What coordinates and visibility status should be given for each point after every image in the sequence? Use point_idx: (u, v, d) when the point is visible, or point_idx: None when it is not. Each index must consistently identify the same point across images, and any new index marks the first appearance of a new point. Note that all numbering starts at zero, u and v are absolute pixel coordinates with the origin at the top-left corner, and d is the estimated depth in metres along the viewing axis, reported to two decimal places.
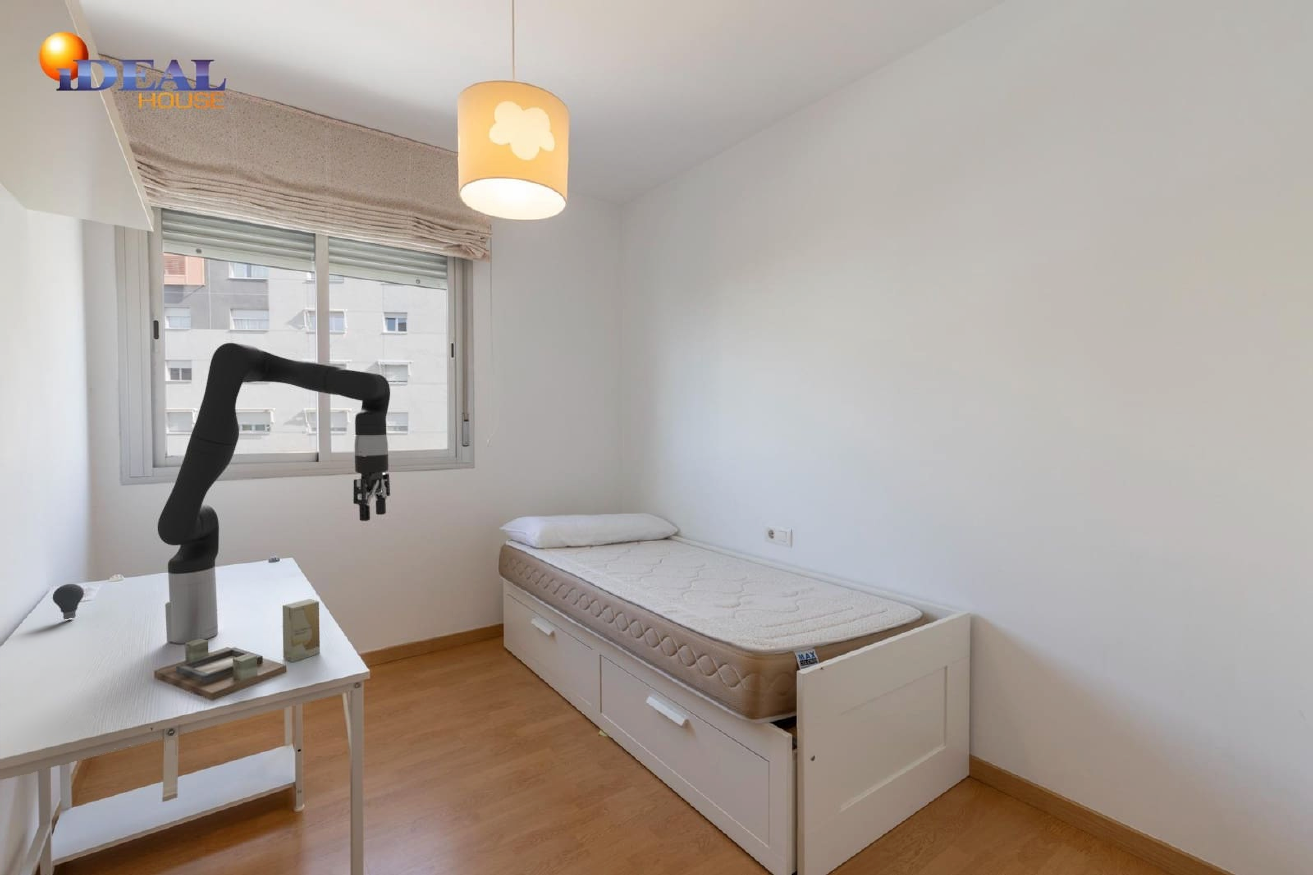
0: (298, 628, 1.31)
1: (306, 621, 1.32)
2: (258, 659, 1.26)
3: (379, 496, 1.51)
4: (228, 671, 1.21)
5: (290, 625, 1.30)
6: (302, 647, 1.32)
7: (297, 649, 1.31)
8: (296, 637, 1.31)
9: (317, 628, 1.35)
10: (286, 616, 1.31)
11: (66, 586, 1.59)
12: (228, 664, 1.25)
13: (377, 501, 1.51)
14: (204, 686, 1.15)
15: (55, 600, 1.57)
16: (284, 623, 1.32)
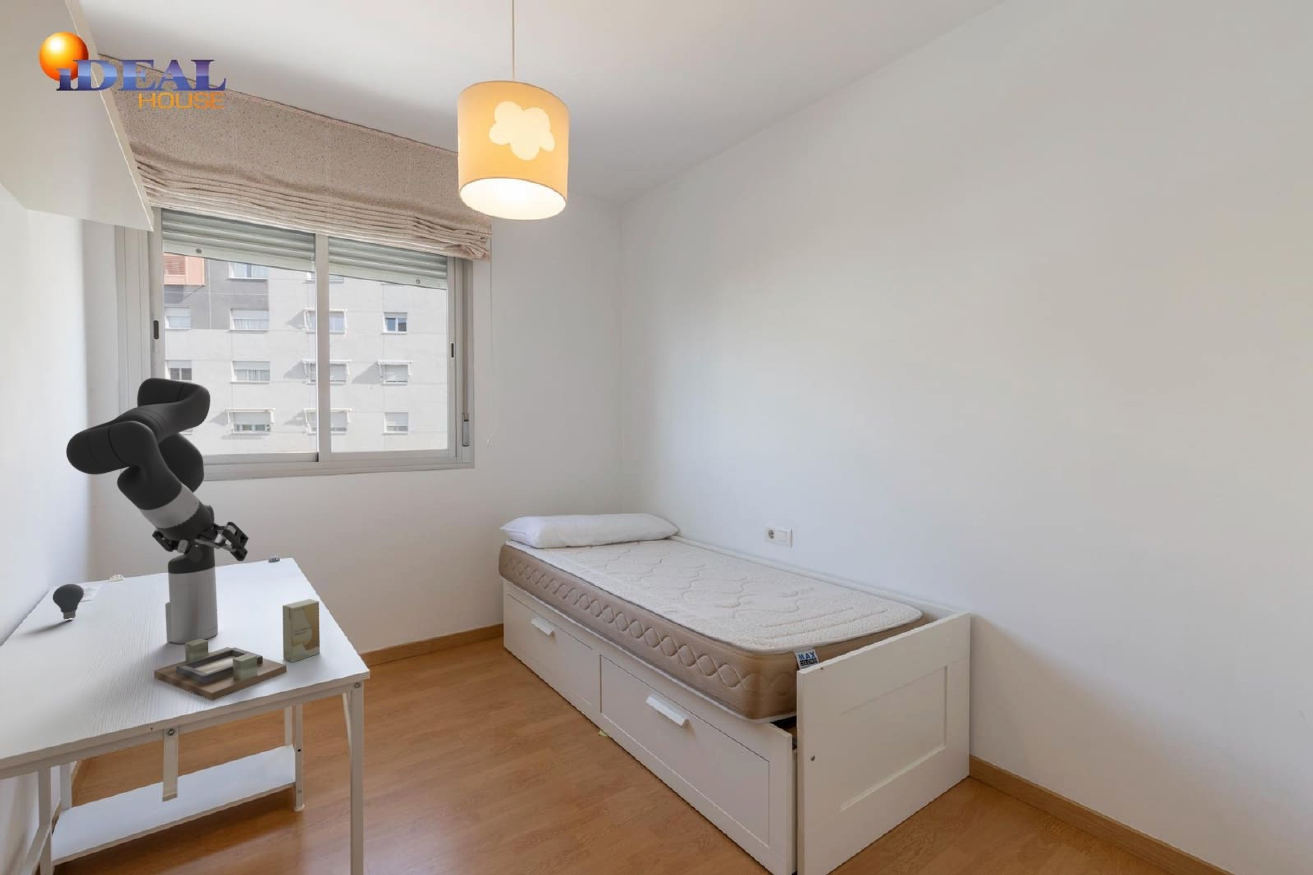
0: (298, 628, 1.31)
1: (306, 621, 1.32)
2: (258, 659, 1.26)
3: None
4: (228, 671, 1.21)
5: (290, 625, 1.30)
6: (302, 647, 1.32)
7: (297, 649, 1.31)
8: (296, 637, 1.31)
9: (317, 628, 1.35)
10: (286, 616, 1.31)
11: (66, 586, 1.59)
12: (228, 664, 1.25)
13: None
14: (204, 686, 1.15)
15: (55, 600, 1.57)
16: (284, 623, 1.32)
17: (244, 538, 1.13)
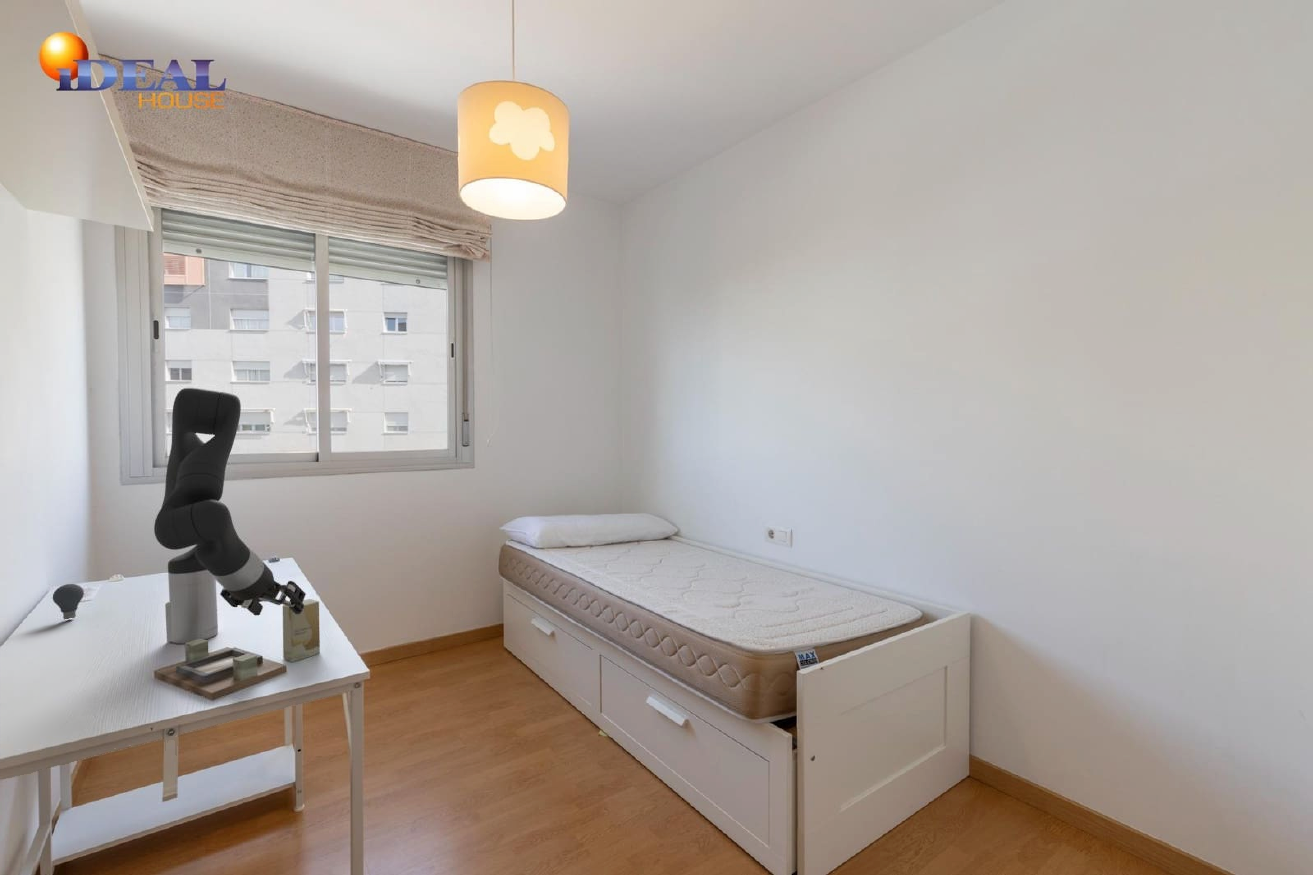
0: (298, 628, 1.31)
1: (306, 621, 1.32)
2: (258, 659, 1.26)
3: None
4: (228, 671, 1.21)
5: (290, 625, 1.30)
6: (302, 647, 1.32)
7: (297, 649, 1.31)
8: (296, 637, 1.31)
9: (317, 628, 1.35)
10: (286, 616, 1.31)
11: (66, 586, 1.59)
12: (228, 664, 1.25)
13: None
14: (204, 686, 1.15)
15: (55, 600, 1.57)
16: (284, 623, 1.32)
17: (302, 595, 1.22)
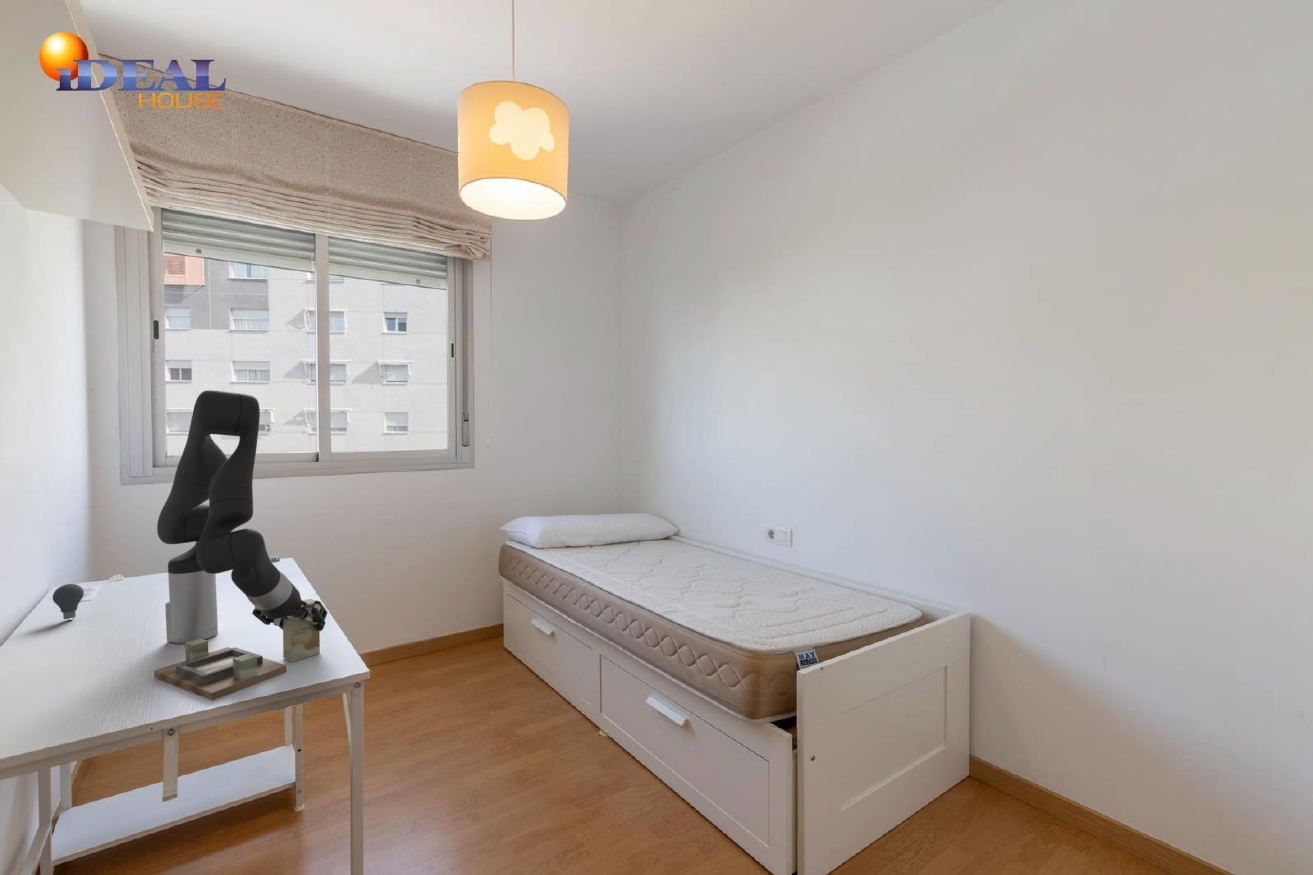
0: (298, 628, 1.31)
1: None
2: (258, 659, 1.26)
3: (313, 617, 1.32)
4: (228, 671, 1.21)
5: (290, 624, 1.30)
6: (302, 647, 1.32)
7: (297, 649, 1.31)
8: (296, 637, 1.31)
9: None
10: None
11: (66, 586, 1.59)
12: (228, 664, 1.25)
13: None
14: (204, 686, 1.15)
15: (55, 600, 1.57)
16: (284, 623, 1.32)
17: (324, 613, 1.32)
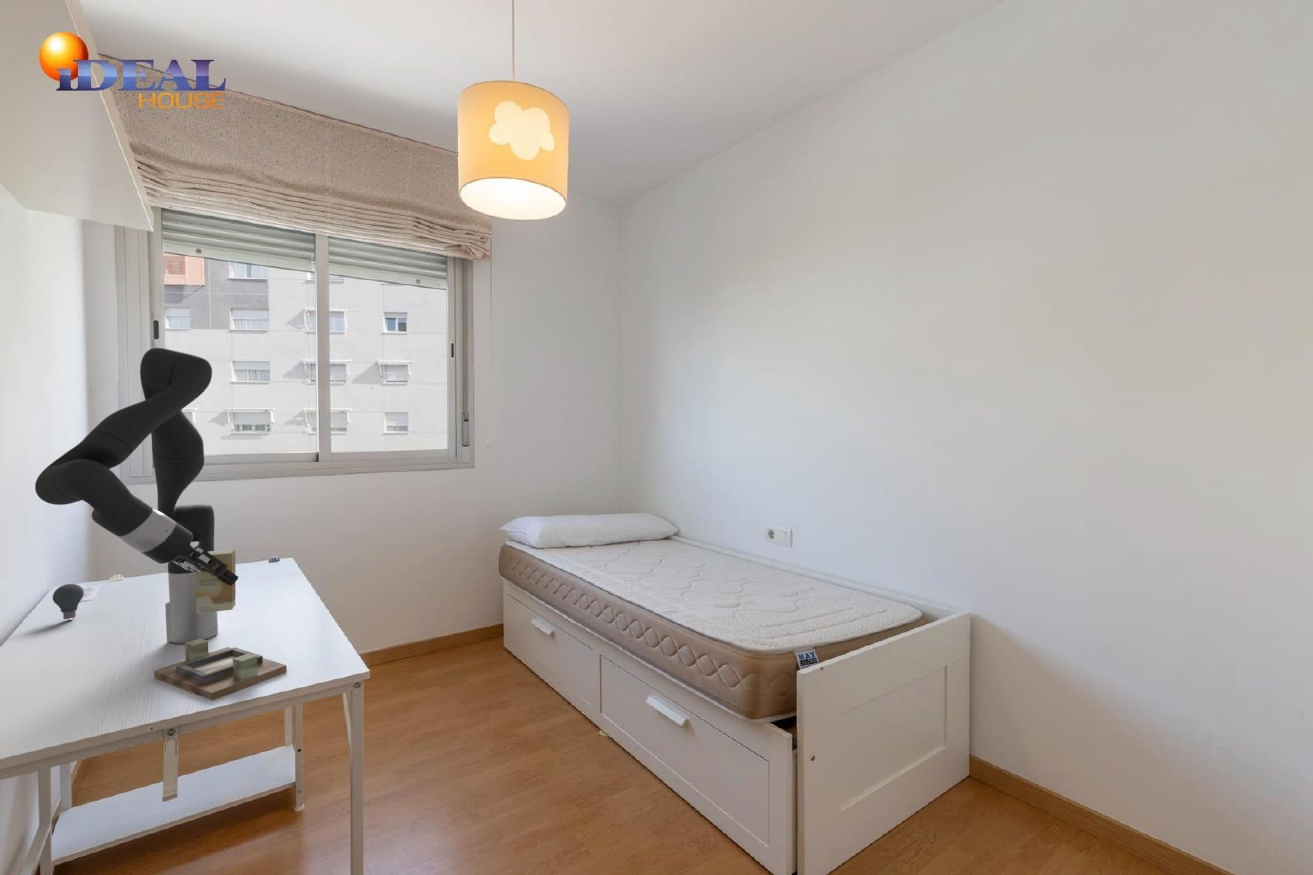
0: (204, 578, 1.21)
1: None
2: (258, 659, 1.26)
3: None
4: (228, 671, 1.21)
5: None
6: (209, 600, 1.21)
7: (202, 601, 1.21)
8: (201, 588, 1.21)
9: None
10: None
11: (66, 586, 1.59)
12: (228, 664, 1.25)
13: None
14: (204, 686, 1.15)
15: (55, 600, 1.57)
16: None
17: (222, 566, 1.19)
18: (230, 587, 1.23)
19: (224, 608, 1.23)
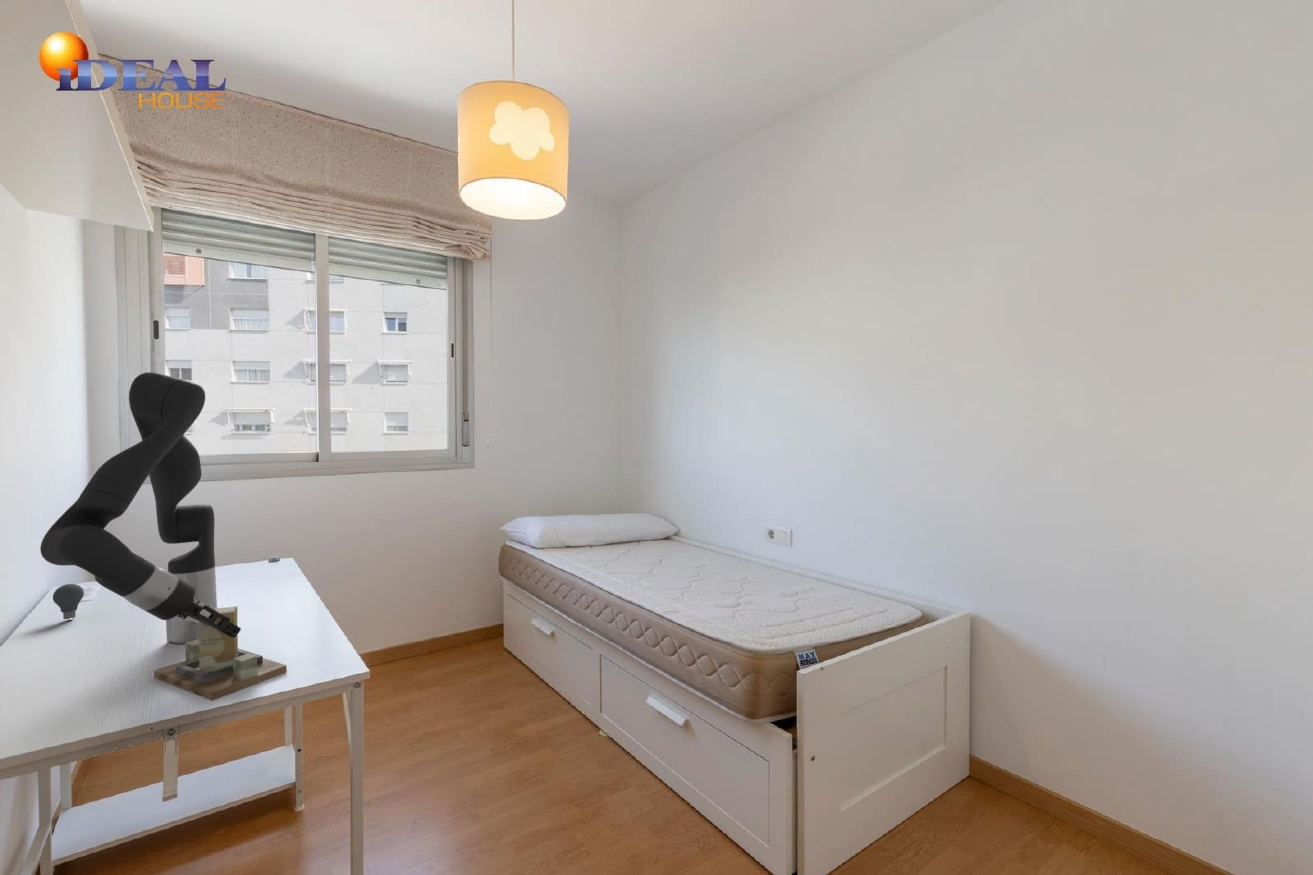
0: (206, 638, 1.21)
1: (217, 631, 1.22)
2: (258, 659, 1.26)
3: None
4: (228, 671, 1.21)
5: (199, 633, 1.21)
6: (211, 659, 1.22)
7: (205, 661, 1.21)
8: (204, 648, 1.21)
9: (231, 640, 1.23)
10: None
11: (66, 586, 1.59)
12: None
13: None
14: (204, 686, 1.15)
15: (55, 600, 1.57)
16: None
17: (224, 620, 1.19)
18: (233, 645, 1.23)
19: None
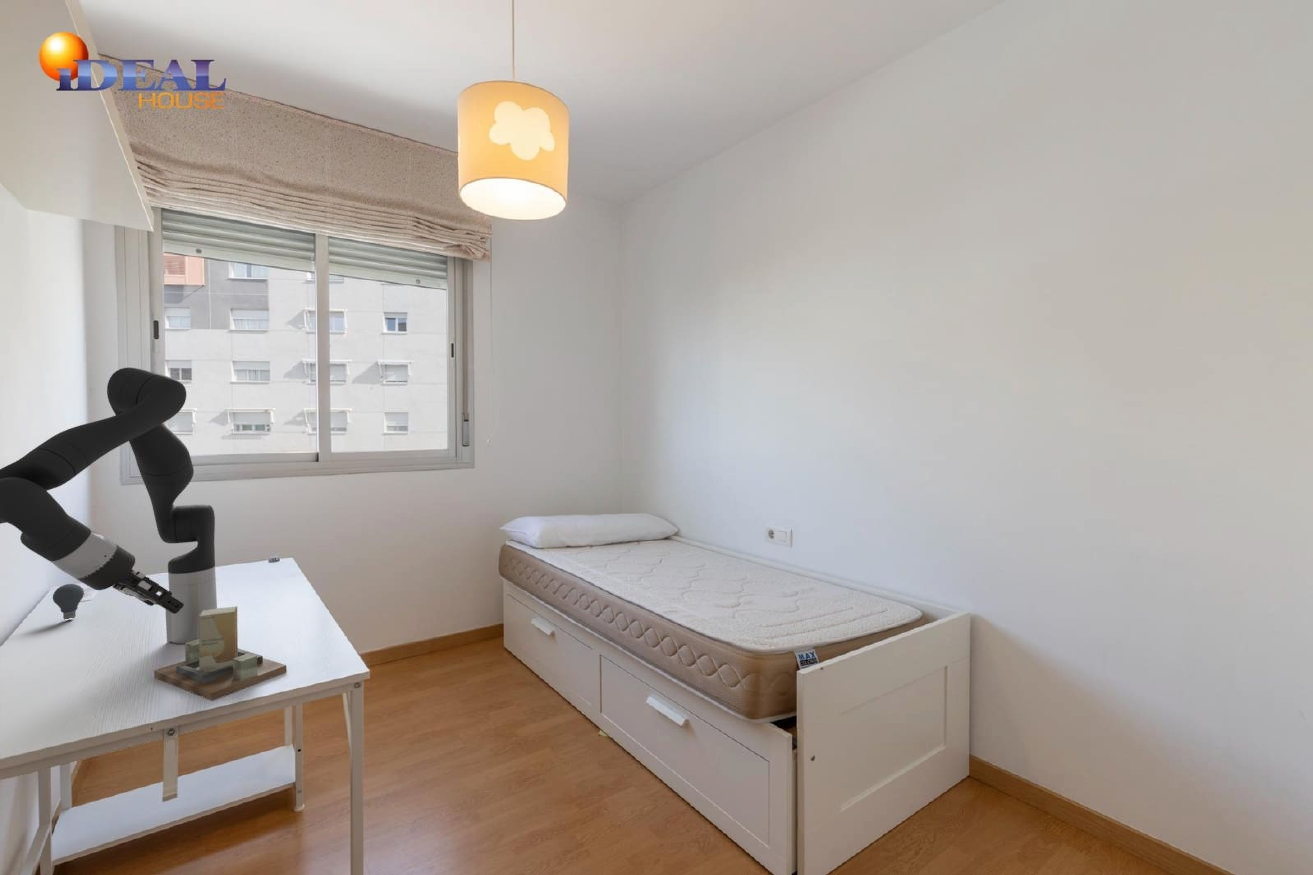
0: (206, 638, 1.21)
1: (217, 631, 1.22)
2: (258, 659, 1.26)
3: None
4: (228, 671, 1.21)
5: (199, 633, 1.21)
6: (211, 659, 1.22)
7: (205, 661, 1.21)
8: (203, 648, 1.21)
9: (231, 640, 1.23)
10: None
11: (66, 586, 1.59)
12: None
13: None
14: (204, 686, 1.15)
15: (55, 600, 1.57)
16: None
17: (166, 594, 1.09)
18: (233, 645, 1.23)
19: None
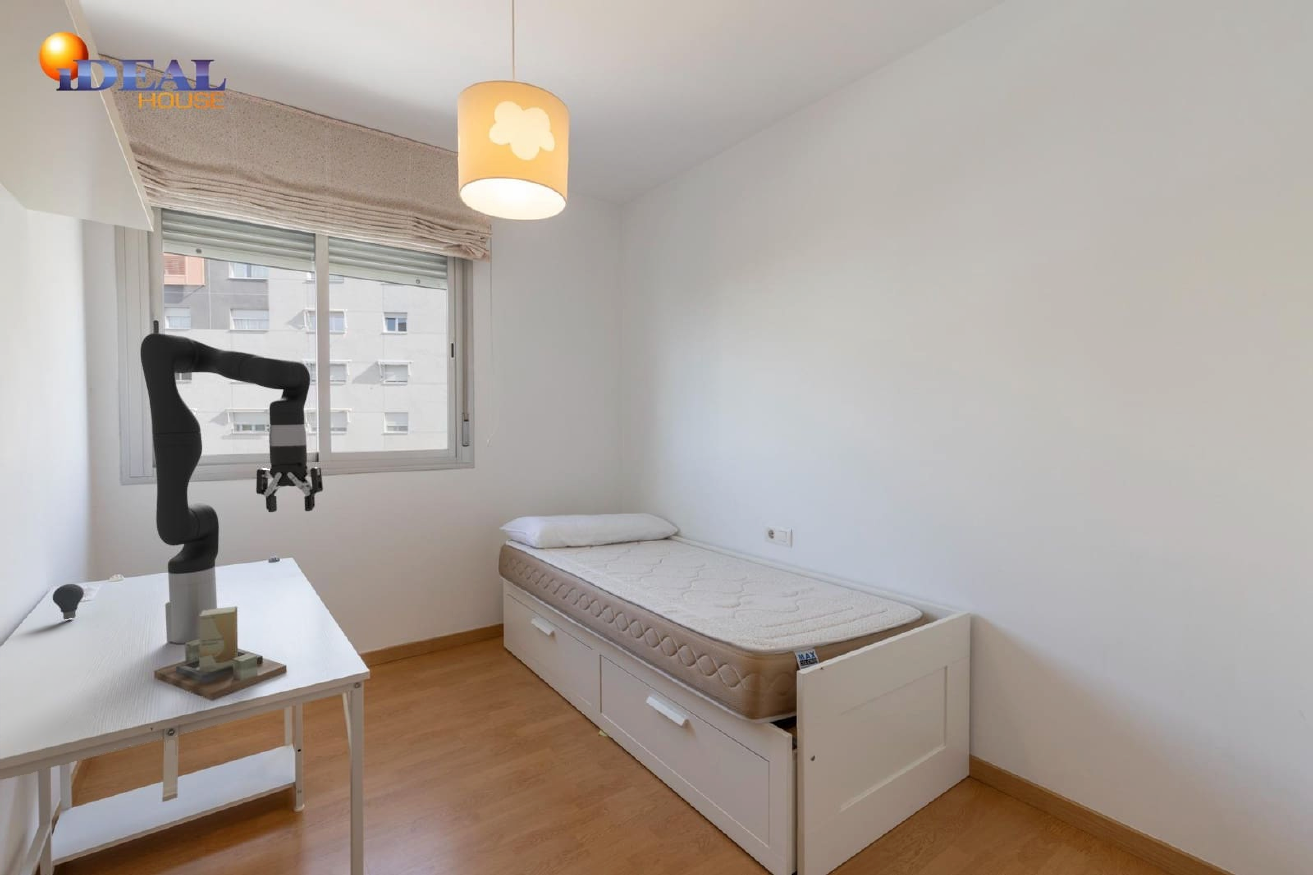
0: (206, 638, 1.21)
1: (217, 631, 1.22)
2: (258, 659, 1.26)
3: None
4: (228, 671, 1.21)
5: (199, 633, 1.21)
6: (211, 659, 1.22)
7: (205, 661, 1.21)
8: (203, 648, 1.21)
9: (231, 640, 1.23)
10: None
11: (66, 586, 1.59)
12: None
13: None
14: (204, 686, 1.15)
15: (55, 600, 1.57)
16: None
17: (320, 487, 1.41)
18: (233, 645, 1.23)
19: None
